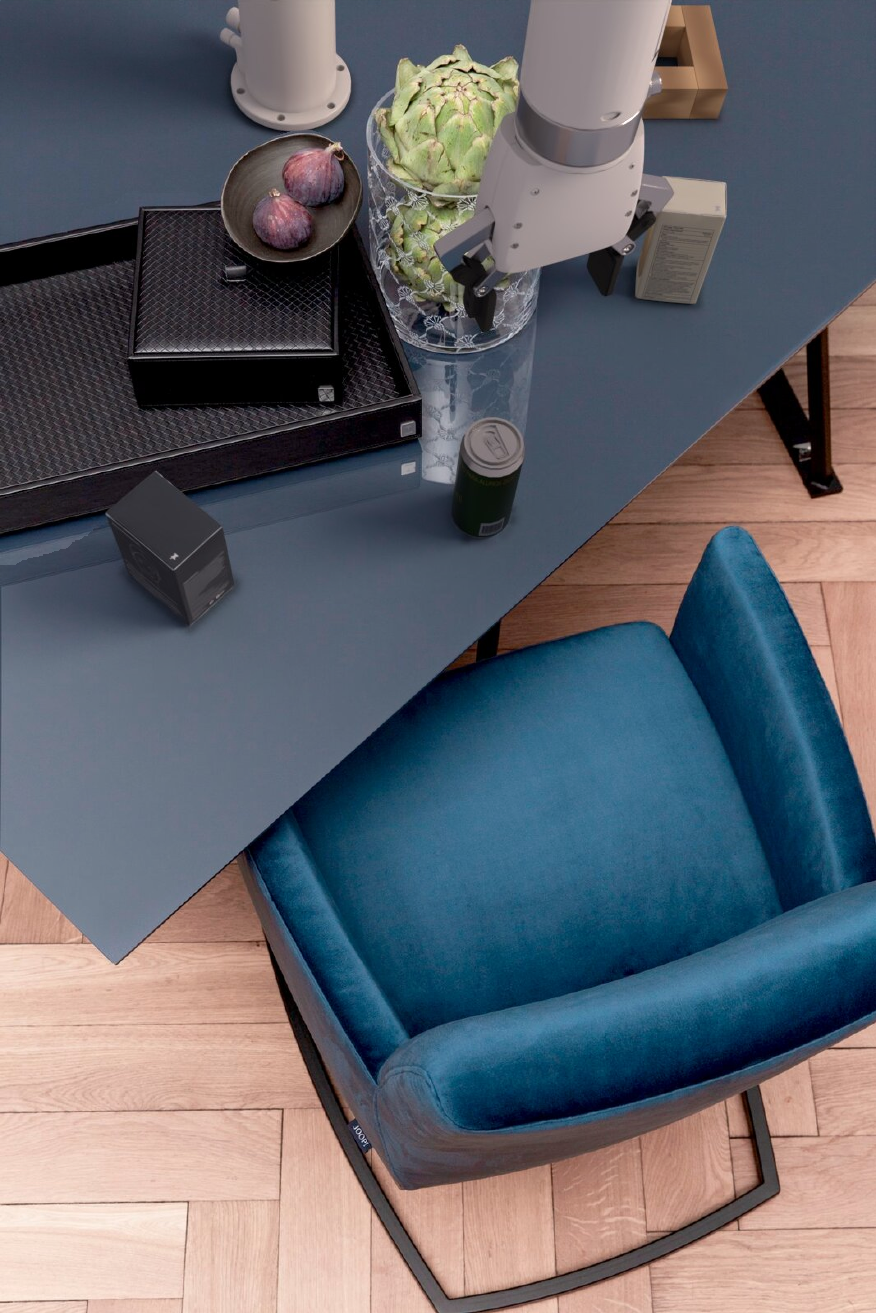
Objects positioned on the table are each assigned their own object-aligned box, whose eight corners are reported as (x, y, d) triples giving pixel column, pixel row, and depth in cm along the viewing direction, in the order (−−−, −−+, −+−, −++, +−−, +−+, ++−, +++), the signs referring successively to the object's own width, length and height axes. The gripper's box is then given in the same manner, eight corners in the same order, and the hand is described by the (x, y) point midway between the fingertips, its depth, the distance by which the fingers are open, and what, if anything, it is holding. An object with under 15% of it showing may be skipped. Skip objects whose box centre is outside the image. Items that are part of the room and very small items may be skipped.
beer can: (520, 526, 109) (538, 454, 98) (469, 551, 108) (482, 480, 97) (490, 481, 111) (505, 405, 100) (439, 504, 110) (449, 430, 99)
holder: (605, 119, 130) (613, 88, 126) (592, 36, 134) (598, 4, 131) (717, 119, 131) (728, 88, 127) (700, 37, 135) (709, 5, 132)
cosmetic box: (696, 272, 122) (730, 181, 111) (695, 306, 120) (730, 218, 109) (633, 264, 122) (661, 172, 111) (631, 298, 120) (660, 209, 109)
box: (236, 585, 105) (224, 525, 96) (189, 628, 103) (172, 572, 94) (173, 531, 107) (154, 467, 97) (125, 573, 105) (102, 512, 95)
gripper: (678, 35, 76) (623, 231, 91) (421, 99, 72) (410, 292, 88) (733, 119, 73) (667, 306, 89) (470, 190, 69) (449, 372, 85)
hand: (539, 299), depth 88 cm, fingers open, 9 cm apart
